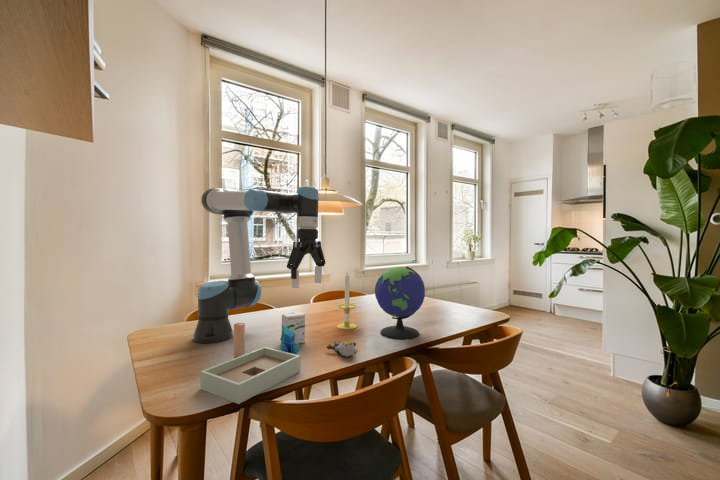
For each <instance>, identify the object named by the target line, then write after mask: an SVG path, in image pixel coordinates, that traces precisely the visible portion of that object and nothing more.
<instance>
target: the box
mask: <svg viewBox="0 0 720 480" xmlns="http://www.w3.org/2000/svg"><path fill="white" fill-rule="evenodd" d="M298 373H301V355H300V354H299V355H296V354H292V353H288V352H284V351H281V349H280V350H278V349H275V348H271V347H268V346H263V347H261V348H259V349H255V350H253V351H250V352H248V353H245V355H242V356H240V357H237V358H235V359H234V358H232V359H230V360H227V361H224V362H222V363H218V364H217V365H214V366H212V367H211V366H210V367H209V368H206V369H204V370H200V390H202V391H204V392H206V393H210V394H212V395H214V396H217V397H219V398H222V399H224V400H227V401H230V402H232V403H235V404H238V405H240V404H241V403H243V402H246V401H247V400H250V399H251V398H253V397H255V396H257V395H259V394H260V393H262V392H264V391H266V390H267V389H270V388H272V387H274V386H276V385H278V384H279V383H281V382H283V381H285V380H287V379H288V378H290V377H293V376H295V374H296V375H297V374H298Z"/></svg>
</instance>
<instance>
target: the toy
mask: <svg viewBox="0 0 720 480" xmlns="http://www.w3.org/2000/svg"><path fill="white" fill-rule="evenodd" d="M356 345H357V342H355V341H353V342H351V341H344V342H342V340H341V339H338V341H337V340H336V339H334V340H333V345H332V344H329V343H328V345H326V349H327V350H331V352H338V353H339V354H340V355H341V356H343V357H345V358H349V357H350V356H352V355H354V354H357V351H356V350H355V347H356Z"/></svg>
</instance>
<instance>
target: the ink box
mask: <svg viewBox="0 0 720 480" xmlns="http://www.w3.org/2000/svg"><path fill="white" fill-rule="evenodd" d="M283 325H284V326H285V327H287V328H288V329H290V330H291V331H292V332H294V333H295V334H296V335H295V340H294V343H295V344H296V345H297V344H304V343H305V341H306V314H305V313H304V312H302V311H295V312H284V313H282V314H281V330H282V329H283ZM280 342H281V341H280ZM281 344H282V342H281Z"/></svg>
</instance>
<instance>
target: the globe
mask: <svg viewBox="0 0 720 480" xmlns="http://www.w3.org/2000/svg"><path fill="white" fill-rule="evenodd" d="M374 286H375V288H374V295H375V298H376V301H377V304H378V305H379V307H380V308H381V309H382V311H383V312H385V314H388V315H389V316H391V319H394V320H396V324H395V325H391V326H387V327H384V328H382V329H381V330H380V333H379V334H380V335H381V336H382V337H384V338H386V339H390V340H399V341H406V339H409V340H414V338H415V339H416V338H419V337H420V332H419V330H417V329H415V328H414V327H409V326H406V325H404V321H403V320H405V319H408V318H410V317H411V316H413V315H414V314H415V313H416V312H418V311H419V309H421V307H422V305H423V303H424V302H425V296H426V289H425V284H424V280H423V279H422V277H421V275H419V273H417V272H416V271H415V270H414V269H412V268H411V267H408V266H405V267H403V266H396V267H392V268H389V269H387V270H385V271H384V272H383V273H382V274H381V275H379V277H378V279H377V281H376V283H375V285H374ZM418 336H419V337H418Z"/></svg>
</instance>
